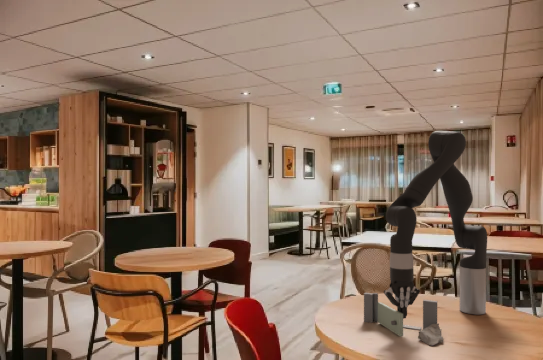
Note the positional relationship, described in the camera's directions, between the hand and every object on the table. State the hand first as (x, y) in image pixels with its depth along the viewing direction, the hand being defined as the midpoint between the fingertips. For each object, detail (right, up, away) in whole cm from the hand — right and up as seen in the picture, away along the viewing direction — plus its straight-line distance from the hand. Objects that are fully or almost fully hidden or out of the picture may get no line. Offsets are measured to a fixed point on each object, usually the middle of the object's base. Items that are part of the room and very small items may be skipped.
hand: (402, 317), depth 140 cm
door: (-4, -4, +2) cm, 6 cm away
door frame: (+2, -5, +6) cm, 8 cm away
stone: (+8, -5, -6) cm, 11 cm away
